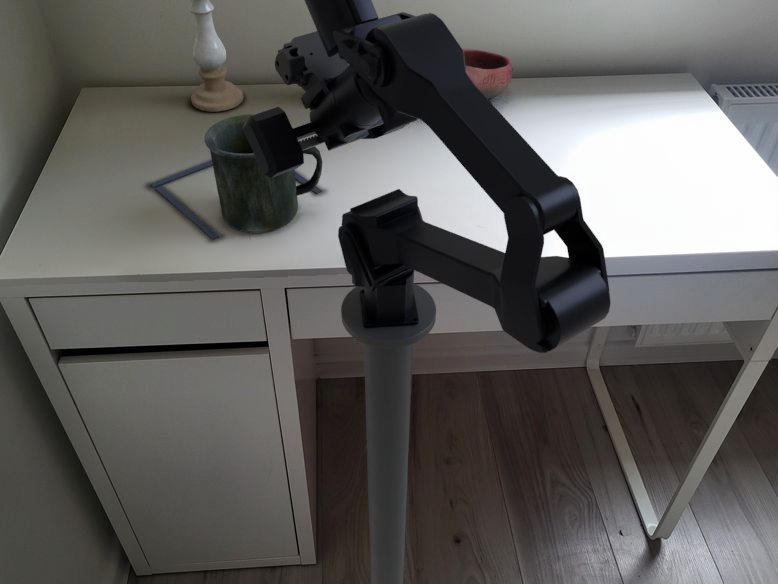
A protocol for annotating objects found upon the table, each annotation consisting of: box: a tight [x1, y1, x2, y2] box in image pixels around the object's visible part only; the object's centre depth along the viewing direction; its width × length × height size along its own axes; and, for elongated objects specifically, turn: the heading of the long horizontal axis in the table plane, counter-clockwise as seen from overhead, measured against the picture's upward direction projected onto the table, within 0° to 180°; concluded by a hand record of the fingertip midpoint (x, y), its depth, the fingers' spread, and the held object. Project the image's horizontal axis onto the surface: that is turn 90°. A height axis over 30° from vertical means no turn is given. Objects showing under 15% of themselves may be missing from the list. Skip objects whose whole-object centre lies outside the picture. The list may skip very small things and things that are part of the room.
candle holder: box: [188, 0, 244, 113], centre depth 115 cm, size 9×9×20 cm
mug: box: [203, 113, 323, 234], centre depth 94 cm, size 11×15×12 cm
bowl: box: [462, 48, 514, 100], centre depth 119 cm, size 16×13×8 cm
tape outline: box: [149, 160, 323, 241], centre depth 102 cm, size 18×18×1 cm
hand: (304, 146), depth 84 cm, fingers open, 9 cm apart
